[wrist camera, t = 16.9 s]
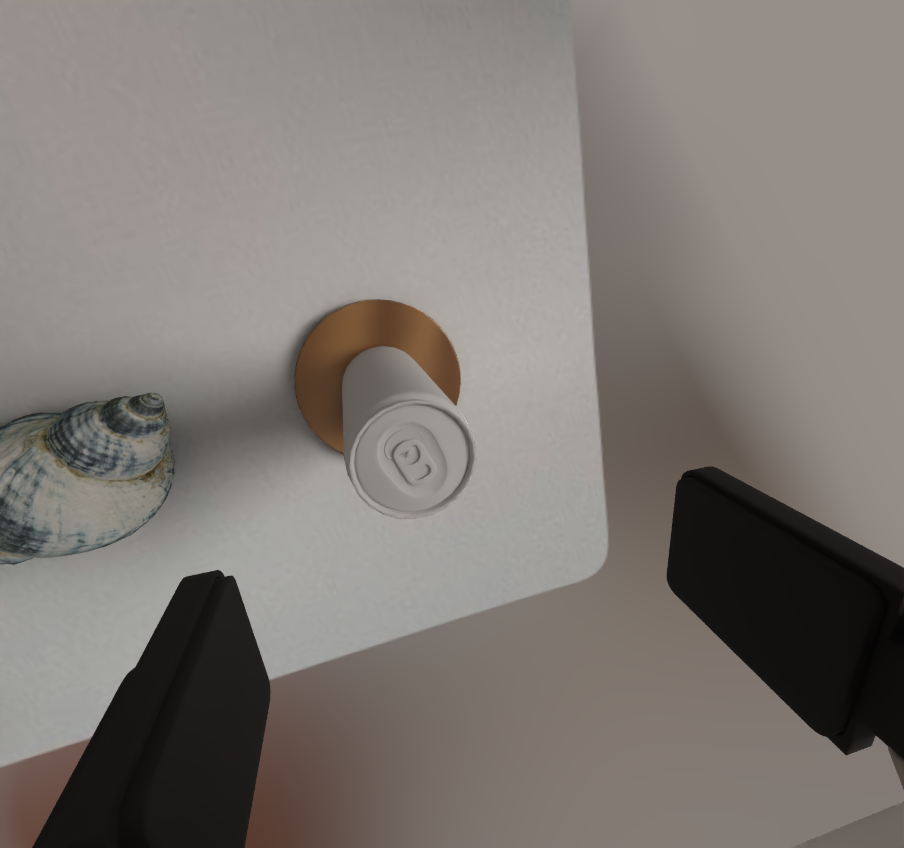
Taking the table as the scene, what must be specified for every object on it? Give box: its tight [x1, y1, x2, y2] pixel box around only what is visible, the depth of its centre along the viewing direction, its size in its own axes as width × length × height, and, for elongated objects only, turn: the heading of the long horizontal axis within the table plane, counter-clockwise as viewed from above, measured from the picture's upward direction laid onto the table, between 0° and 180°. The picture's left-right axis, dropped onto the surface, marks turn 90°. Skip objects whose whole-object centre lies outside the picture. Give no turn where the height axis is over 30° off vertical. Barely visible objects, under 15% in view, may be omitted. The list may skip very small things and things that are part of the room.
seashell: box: [0, 393, 175, 565], centre depth 21 cm, size 6×8×12 cm
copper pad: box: [295, 299, 461, 454], centre depth 26 cm, size 10×10×1 cm
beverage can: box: [342, 346, 476, 519], centre depth 21 cm, size 5×5×12 cm
